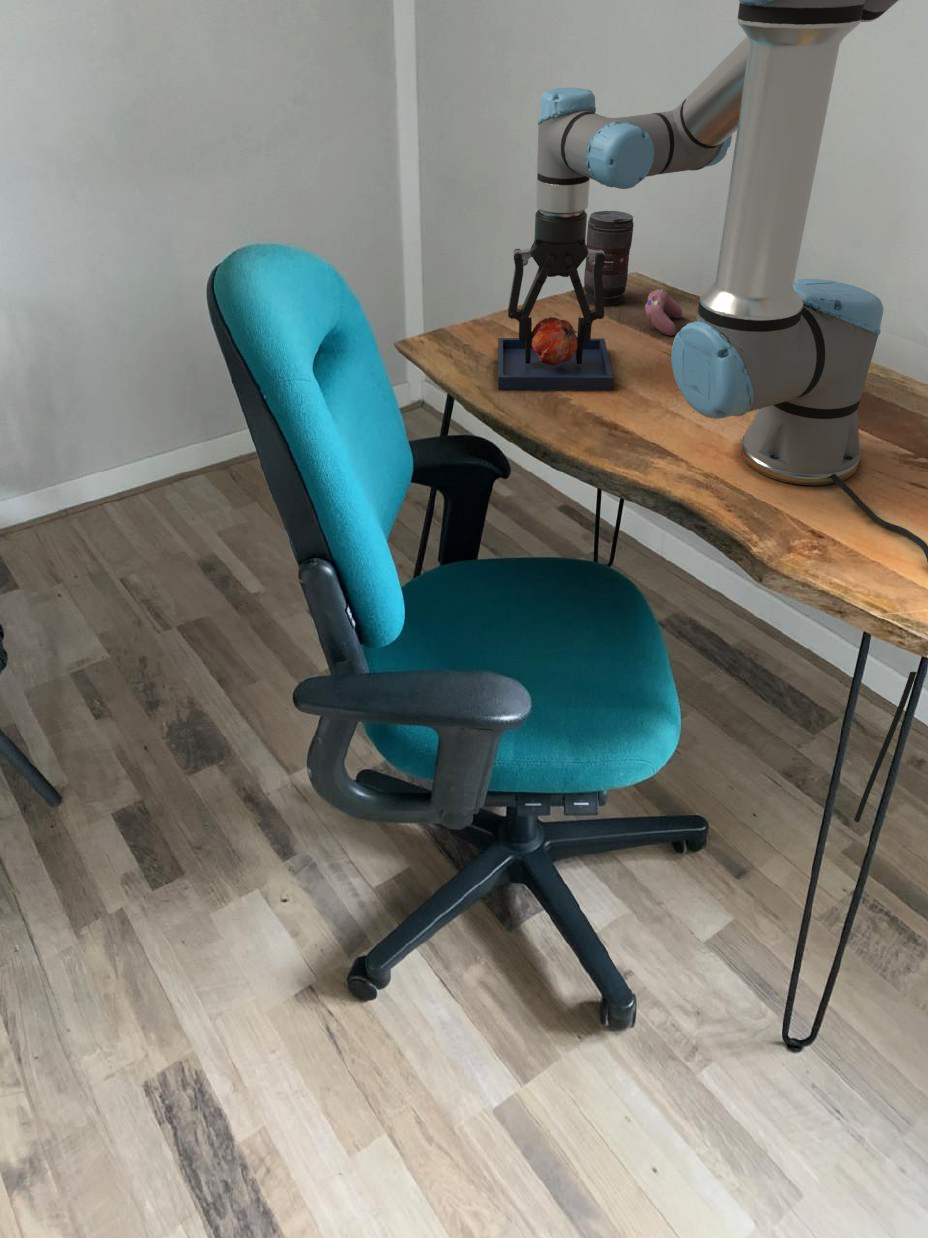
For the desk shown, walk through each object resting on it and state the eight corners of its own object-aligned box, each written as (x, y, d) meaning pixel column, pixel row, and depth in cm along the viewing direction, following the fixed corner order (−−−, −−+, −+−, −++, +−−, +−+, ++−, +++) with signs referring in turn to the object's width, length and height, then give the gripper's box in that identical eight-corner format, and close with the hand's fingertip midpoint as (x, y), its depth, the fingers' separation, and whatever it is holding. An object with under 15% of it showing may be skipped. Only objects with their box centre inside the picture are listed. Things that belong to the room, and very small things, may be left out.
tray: (612, 390, 146) (613, 377, 145) (498, 389, 147) (498, 376, 146) (603, 350, 159) (604, 338, 157) (498, 349, 159) (498, 337, 158)
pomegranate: (522, 376, 153) (556, 356, 144) (512, 331, 153) (545, 309, 144) (560, 371, 156) (595, 352, 147) (550, 327, 156) (584, 305, 147)
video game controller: (660, 323, 172) (647, 287, 169) (684, 314, 170) (671, 277, 167) (652, 343, 165) (637, 306, 162) (677, 334, 162) (663, 296, 159)
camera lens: (634, 301, 177) (643, 217, 167) (600, 310, 173) (607, 224, 164) (607, 288, 182) (614, 206, 173) (573, 296, 179) (579, 213, 169)
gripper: (629, 203, 140) (614, 351, 155) (491, 202, 141) (489, 350, 155) (634, 217, 135) (619, 370, 149) (491, 217, 135) (489, 369, 149)
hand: (553, 360), depth 152 cm, fingers closed on pomegranate, 7 cm apart
